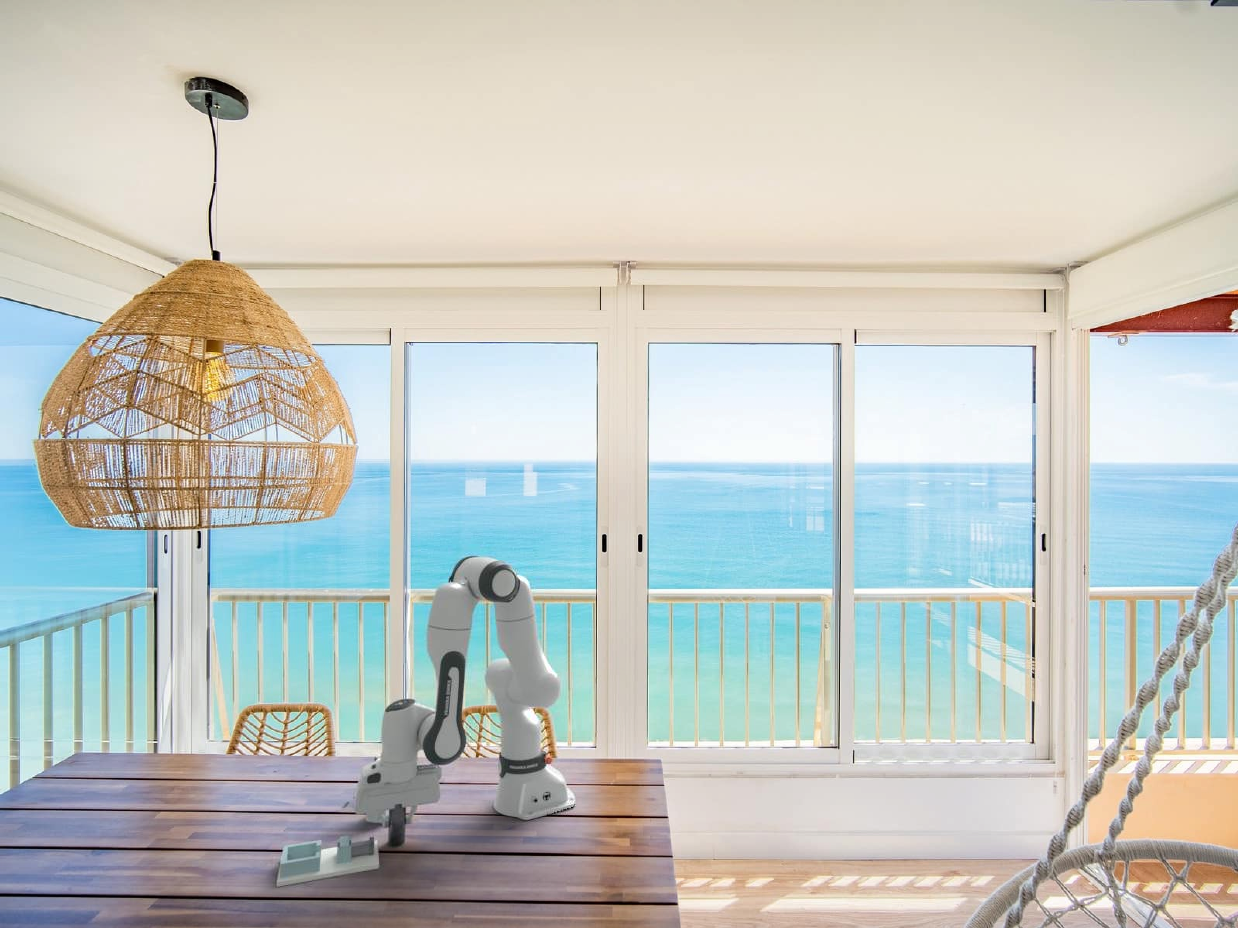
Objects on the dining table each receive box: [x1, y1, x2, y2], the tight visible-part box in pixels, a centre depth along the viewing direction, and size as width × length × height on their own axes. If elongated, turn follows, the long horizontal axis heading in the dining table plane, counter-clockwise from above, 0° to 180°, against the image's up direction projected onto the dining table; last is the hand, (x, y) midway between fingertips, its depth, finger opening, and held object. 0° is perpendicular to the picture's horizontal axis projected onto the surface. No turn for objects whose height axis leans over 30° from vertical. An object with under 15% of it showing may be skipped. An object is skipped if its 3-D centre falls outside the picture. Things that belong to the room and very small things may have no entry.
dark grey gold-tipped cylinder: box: [387, 804, 407, 847], centre depth 166 cm, size 4×4×12 cm
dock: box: [276, 835, 380, 888], centre depth 155 cm, size 21×11×5 cm, turn 112°
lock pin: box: [336, 836, 375, 857], centre depth 157 cm, size 8×3×3 cm, turn 112°
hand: (397, 825), depth 165 cm, fingers closed on dark grey gold-tipped cylinder, 4 cm apart
